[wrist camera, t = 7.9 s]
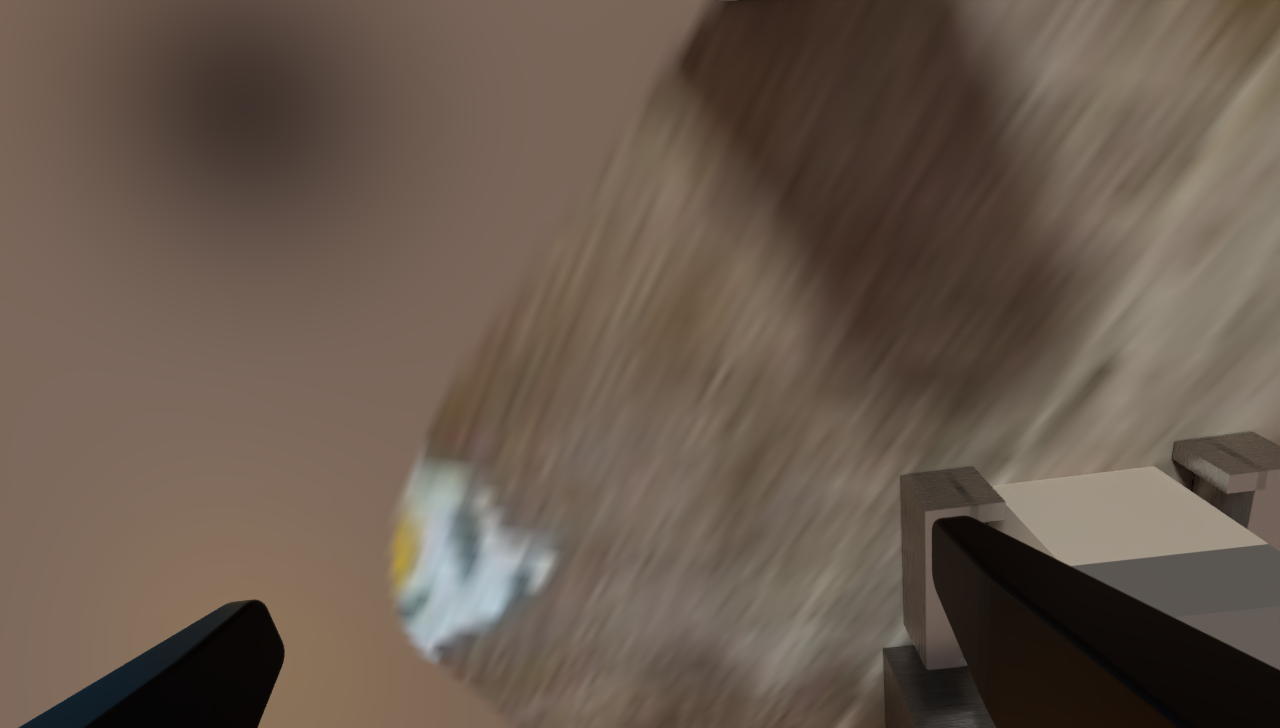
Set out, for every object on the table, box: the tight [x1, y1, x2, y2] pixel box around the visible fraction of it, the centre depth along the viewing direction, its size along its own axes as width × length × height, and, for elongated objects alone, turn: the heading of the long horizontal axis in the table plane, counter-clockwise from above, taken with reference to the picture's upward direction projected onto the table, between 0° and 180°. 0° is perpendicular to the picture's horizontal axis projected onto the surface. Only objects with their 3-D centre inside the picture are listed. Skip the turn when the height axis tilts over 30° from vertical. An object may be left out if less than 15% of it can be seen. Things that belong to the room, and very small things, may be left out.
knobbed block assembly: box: [883, 432, 1280, 728], centre depth 19 cm, size 11×12×5 cm
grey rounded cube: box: [988, 466, 1280, 670], centre depth 18 cm, size 5×5×6 cm
